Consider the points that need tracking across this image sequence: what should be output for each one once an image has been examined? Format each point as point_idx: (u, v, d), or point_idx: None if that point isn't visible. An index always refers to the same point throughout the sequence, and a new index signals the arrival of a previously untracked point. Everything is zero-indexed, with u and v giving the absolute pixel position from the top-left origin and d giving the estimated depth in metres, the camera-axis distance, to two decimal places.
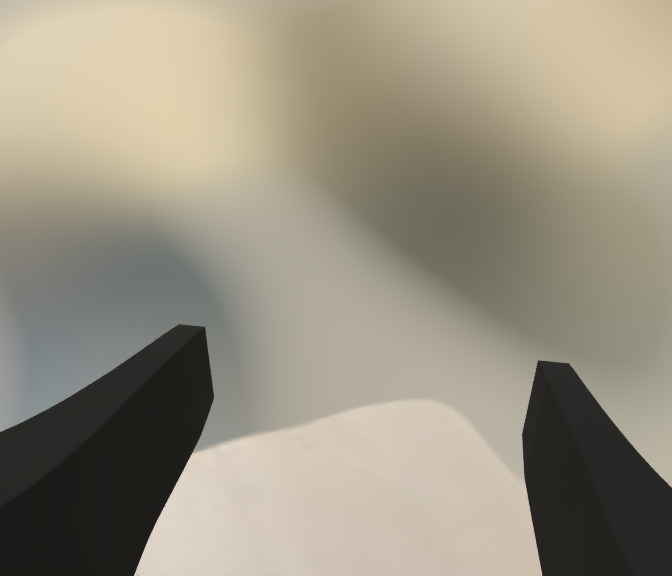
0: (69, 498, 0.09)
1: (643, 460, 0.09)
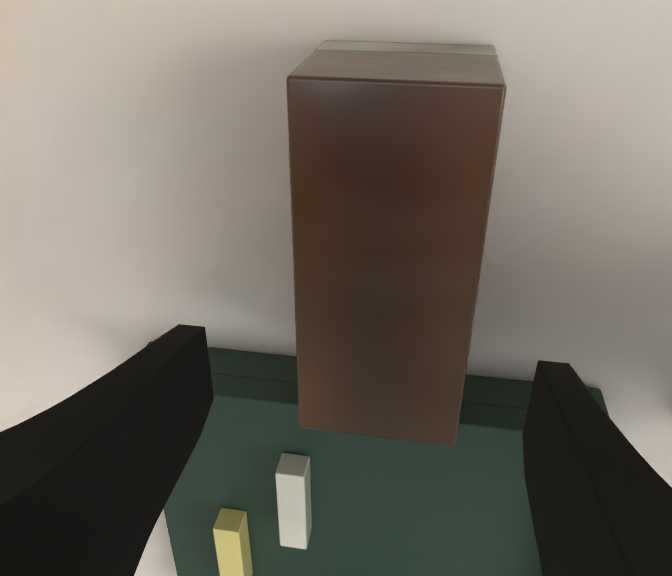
0: (69, 498, 0.09)
1: (643, 460, 0.09)
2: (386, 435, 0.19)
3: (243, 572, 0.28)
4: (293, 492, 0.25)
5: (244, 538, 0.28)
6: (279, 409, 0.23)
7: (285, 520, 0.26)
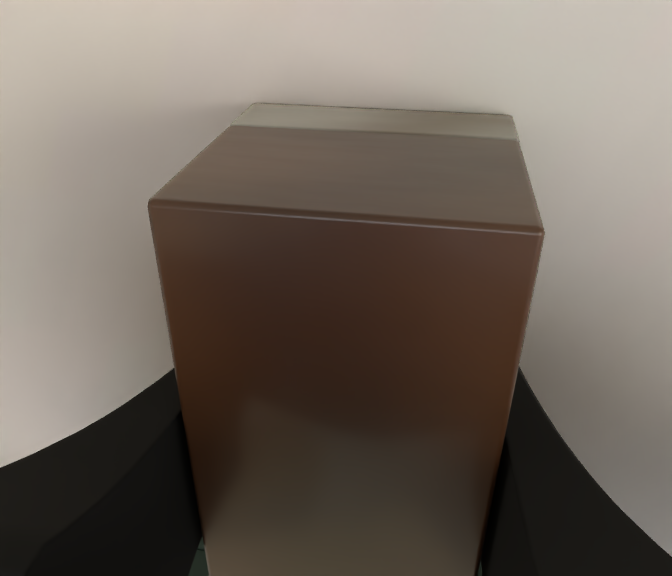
0: (134, 507, 0.09)
1: (569, 451, 0.09)
2: None
3: None
4: None
5: None
6: None
7: None
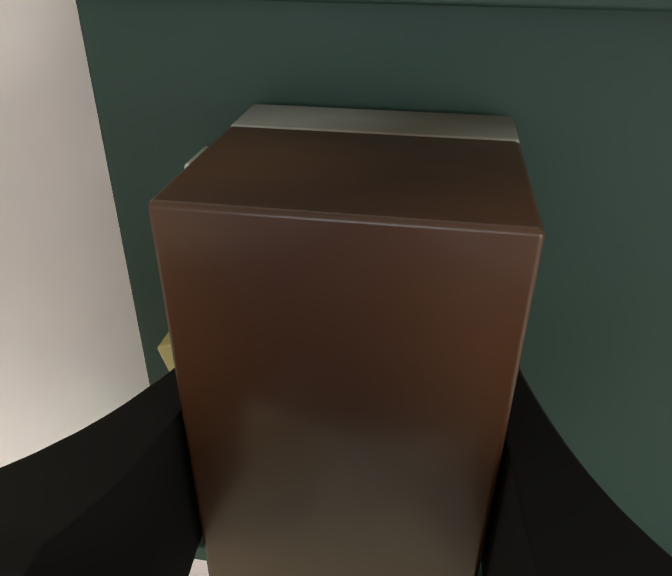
0: (134, 507, 0.09)
1: (569, 451, 0.09)
2: None
3: None
4: None
5: None
6: None
7: None
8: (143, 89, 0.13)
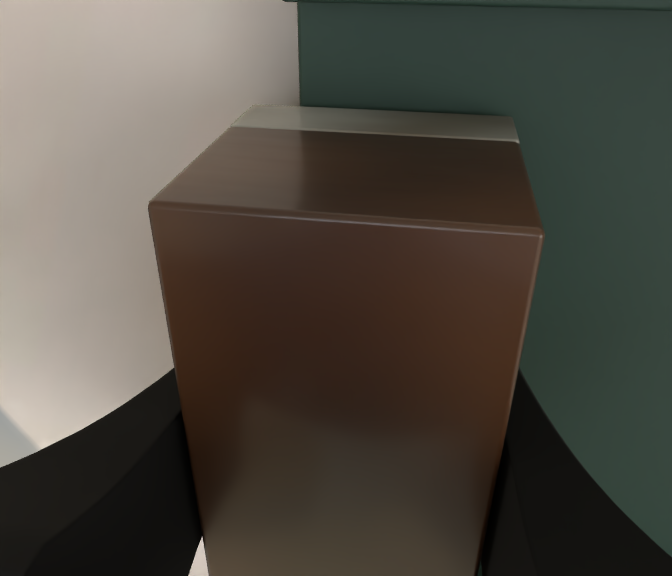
0: (134, 507, 0.09)
1: (569, 451, 0.09)
2: None
3: None
4: None
5: None
6: None
7: None
8: (357, 99, 0.12)
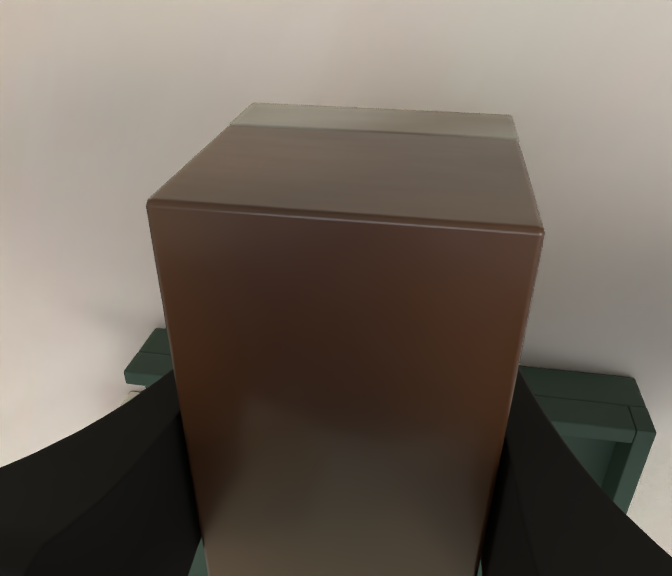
0: (134, 507, 0.09)
1: (569, 451, 0.09)
2: None
3: None
4: None
5: None
6: None
7: None
8: None
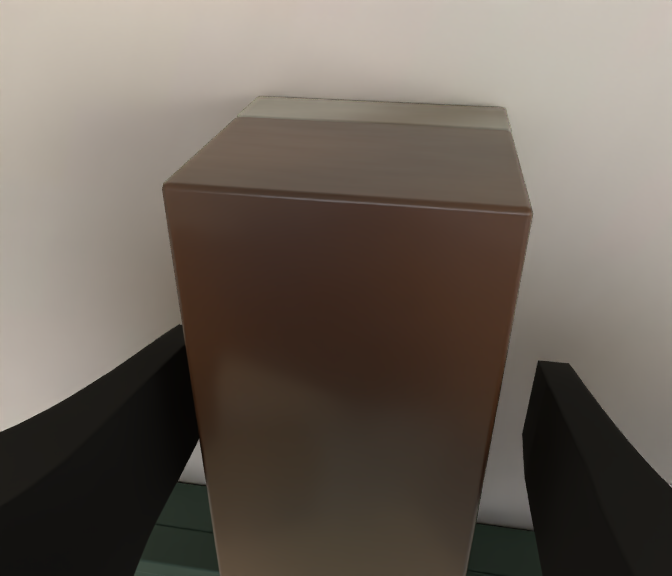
0: (69, 498, 0.09)
1: (643, 460, 0.09)
2: None
3: None
4: None
5: None
6: None
7: None
8: None
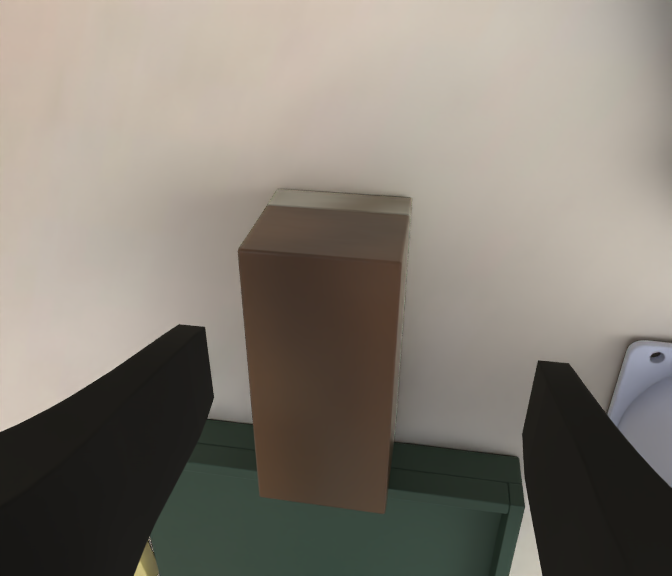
0: (69, 498, 0.09)
1: (643, 460, 0.09)
2: (329, 504, 0.24)
3: None
4: None
5: None
6: (248, 475, 0.27)
7: None
8: None
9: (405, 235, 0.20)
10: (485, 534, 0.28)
